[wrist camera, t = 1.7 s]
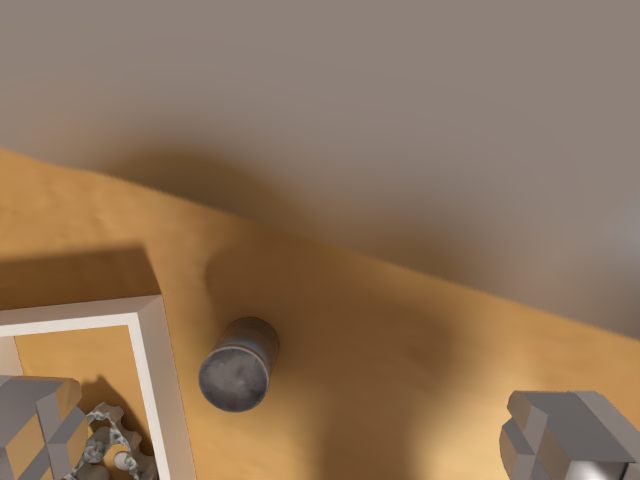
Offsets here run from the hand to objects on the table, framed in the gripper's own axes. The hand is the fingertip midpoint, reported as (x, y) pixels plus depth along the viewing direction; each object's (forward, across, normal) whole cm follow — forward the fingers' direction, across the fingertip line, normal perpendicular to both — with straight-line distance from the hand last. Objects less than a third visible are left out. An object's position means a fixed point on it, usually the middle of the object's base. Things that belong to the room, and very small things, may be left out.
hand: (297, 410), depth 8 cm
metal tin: (+28, -5, -18) cm, 33 cm away
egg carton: (+27, -20, -30) cm, 45 cm away
